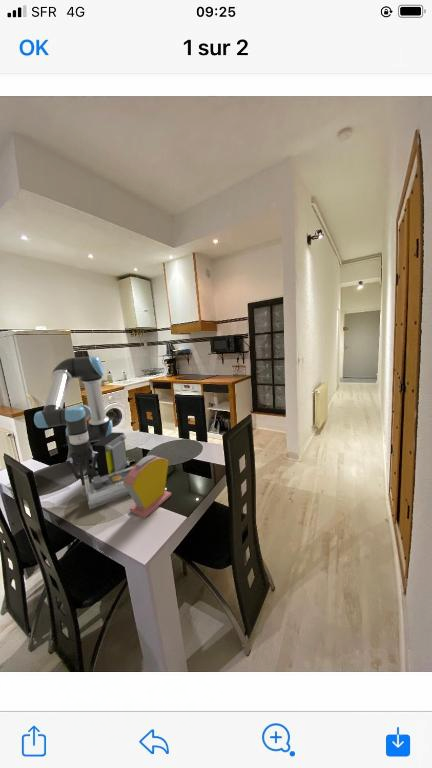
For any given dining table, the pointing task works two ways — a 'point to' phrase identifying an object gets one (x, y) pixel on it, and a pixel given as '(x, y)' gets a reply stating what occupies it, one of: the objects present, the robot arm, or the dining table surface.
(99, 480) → the grey slider block
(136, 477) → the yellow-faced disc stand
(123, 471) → the rail slide plate
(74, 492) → the dining table surface
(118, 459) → the electrical component
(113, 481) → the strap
